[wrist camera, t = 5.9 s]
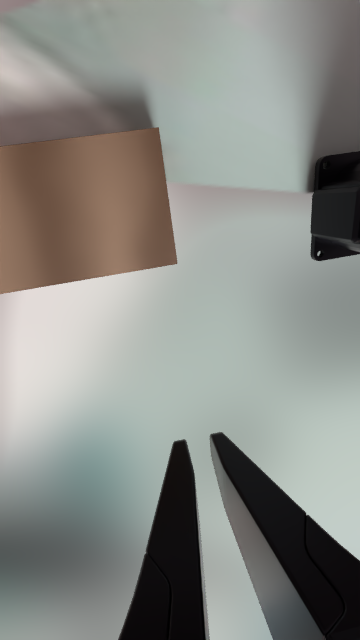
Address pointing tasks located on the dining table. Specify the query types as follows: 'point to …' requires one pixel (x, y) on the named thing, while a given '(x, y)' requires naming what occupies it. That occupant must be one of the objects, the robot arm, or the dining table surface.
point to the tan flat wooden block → (83, 209)
